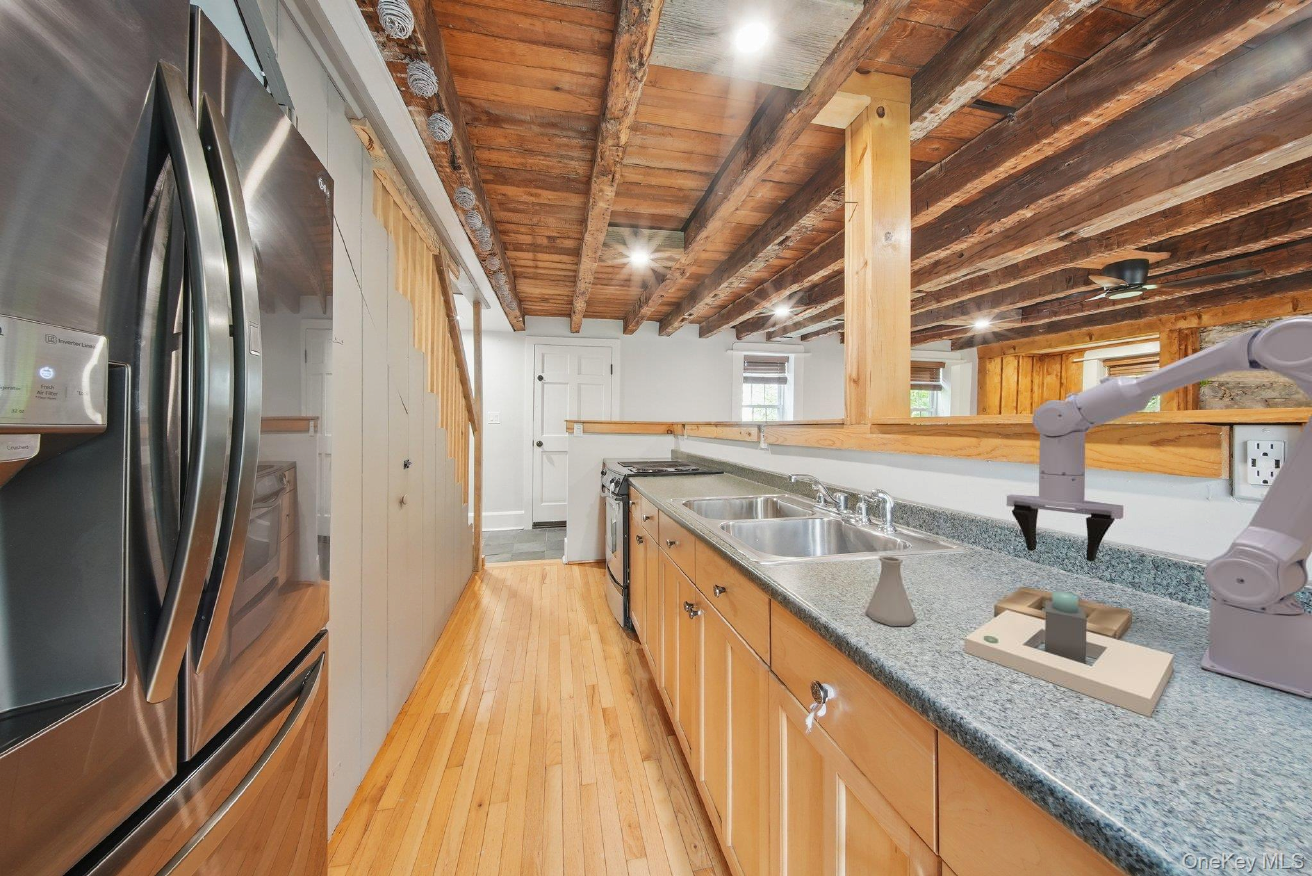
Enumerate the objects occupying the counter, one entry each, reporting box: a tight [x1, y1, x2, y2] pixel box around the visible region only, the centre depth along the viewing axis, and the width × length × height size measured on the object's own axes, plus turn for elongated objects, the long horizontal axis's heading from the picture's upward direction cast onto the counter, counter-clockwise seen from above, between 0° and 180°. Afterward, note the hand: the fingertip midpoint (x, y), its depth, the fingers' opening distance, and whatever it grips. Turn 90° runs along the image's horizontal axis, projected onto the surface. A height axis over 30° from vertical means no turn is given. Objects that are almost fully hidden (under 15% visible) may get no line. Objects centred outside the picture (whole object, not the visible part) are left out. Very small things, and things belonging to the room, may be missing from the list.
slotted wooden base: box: [993, 585, 1133, 640], centre depth 75 cm, size 14×14×2 cm
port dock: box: [963, 610, 1175, 718], centre depth 62 cm, size 18×16×2 cm
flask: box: [864, 555, 918, 627], centre depth 76 cm, size 7×7×10 cm
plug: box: [1044, 590, 1087, 665], centre depth 62 cm, size 4×5×9 cm
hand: (1060, 554), depth 77 cm, fingers open, 7 cm apart
